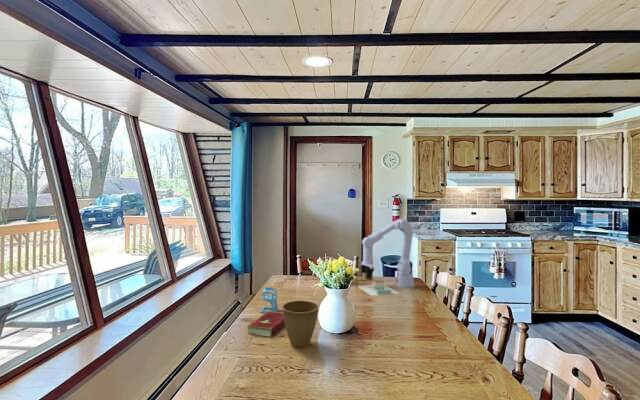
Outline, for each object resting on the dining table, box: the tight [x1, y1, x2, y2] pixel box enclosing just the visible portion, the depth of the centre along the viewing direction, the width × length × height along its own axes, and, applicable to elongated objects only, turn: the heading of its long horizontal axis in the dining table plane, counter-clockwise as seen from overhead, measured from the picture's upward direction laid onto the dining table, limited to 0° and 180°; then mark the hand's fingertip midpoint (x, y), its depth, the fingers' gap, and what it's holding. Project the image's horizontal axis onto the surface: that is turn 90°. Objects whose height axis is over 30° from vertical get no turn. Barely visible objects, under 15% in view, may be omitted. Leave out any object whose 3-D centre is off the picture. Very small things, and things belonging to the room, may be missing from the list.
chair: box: [259, 287, 279, 314], centre depth 198 cm, size 8×8×12 cm
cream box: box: [372, 278, 385, 287], centre depth 245 cm, size 5×5×4 cm
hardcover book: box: [246, 311, 286, 338], centre depth 176 cm, size 12×21×4 cm, turn 161°
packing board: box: [357, 283, 399, 296], centre depth 238 cm, size 19×22×3 cm
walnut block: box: [361, 272, 374, 282], centre depth 242 cm, size 5×5×4 cm
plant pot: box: [282, 300, 320, 349], centre depth 157 cm, size 15×15×16 cm
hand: (367, 277), depth 242 cm, fingers closed on walnut block, 5 cm apart
